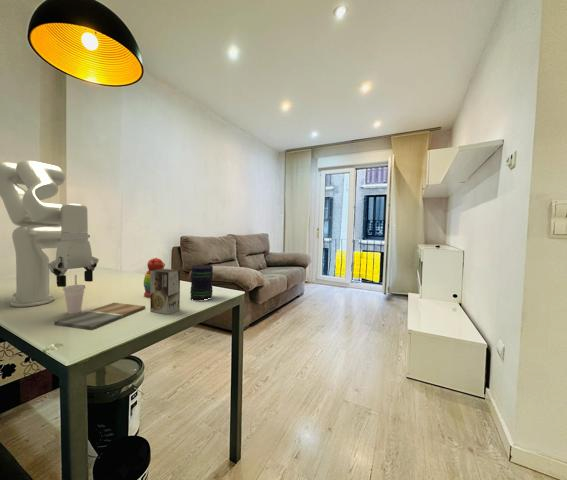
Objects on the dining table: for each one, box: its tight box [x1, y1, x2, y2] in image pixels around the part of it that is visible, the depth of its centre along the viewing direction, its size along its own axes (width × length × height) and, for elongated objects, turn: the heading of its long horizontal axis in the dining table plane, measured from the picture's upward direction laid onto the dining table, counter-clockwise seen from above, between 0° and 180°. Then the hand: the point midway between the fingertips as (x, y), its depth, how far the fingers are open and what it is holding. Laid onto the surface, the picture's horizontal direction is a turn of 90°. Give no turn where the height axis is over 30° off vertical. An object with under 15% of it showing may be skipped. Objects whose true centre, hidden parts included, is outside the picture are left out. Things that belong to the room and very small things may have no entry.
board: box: [53, 302, 146, 330], centre depth 89 cm, size 15×22×1 cm
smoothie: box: [62, 274, 86, 315], centre depth 92 cm, size 6×6×14 cm
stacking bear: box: [143, 257, 166, 299], centre depth 118 cm, size 11×10×18 cm
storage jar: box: [189, 264, 214, 300], centre depth 115 cm, size 10×10×15 cm
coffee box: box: [149, 268, 181, 315], centre depth 96 cm, size 9×6×16 cm
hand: (75, 283), depth 91 cm, fingers open, 9 cm apart
